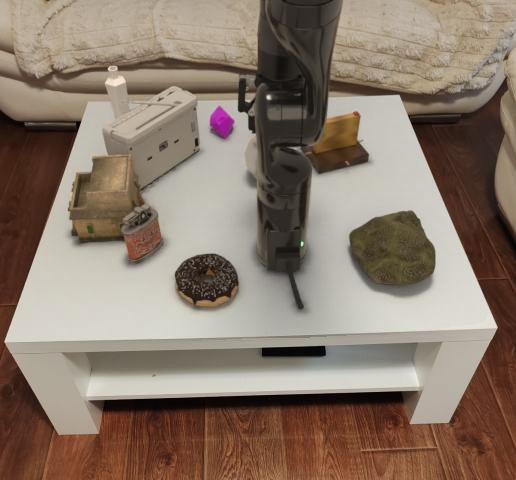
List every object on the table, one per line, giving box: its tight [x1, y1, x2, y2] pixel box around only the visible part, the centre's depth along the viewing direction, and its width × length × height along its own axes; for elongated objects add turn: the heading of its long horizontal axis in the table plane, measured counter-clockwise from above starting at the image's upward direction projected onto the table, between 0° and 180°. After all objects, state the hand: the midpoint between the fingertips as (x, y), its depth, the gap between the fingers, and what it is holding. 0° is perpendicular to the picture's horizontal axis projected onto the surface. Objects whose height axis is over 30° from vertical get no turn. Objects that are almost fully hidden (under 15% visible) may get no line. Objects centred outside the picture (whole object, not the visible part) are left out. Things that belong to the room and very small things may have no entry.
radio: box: [101, 85, 201, 190], centre depth 118 cm, size 21×8×20 cm, turn 141°
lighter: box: [121, 202, 164, 265], centre depth 105 cm, size 8×3×10 cm, turn 141°
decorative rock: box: [348, 209, 437, 286], centre depth 103 cm, size 15×16×10 cm
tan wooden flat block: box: [313, 111, 362, 154], centre depth 123 cm, size 10×2×7 cm, turn 111°
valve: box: [244, 134, 294, 180], centre depth 124 cm, size 10×20×15 cm
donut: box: [174, 252, 240, 308], centre depth 102 cm, size 11×12×4 cm
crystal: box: [209, 105, 235, 139], centre depth 132 cm, size 5×5×5 cm
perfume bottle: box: [104, 65, 131, 119], centre depth 128 cm, size 5×4×15 cm
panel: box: [300, 139, 370, 174], centre depth 127 cm, size 14×14×2 cm
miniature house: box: [67, 154, 147, 244], centre depth 110 cm, size 15×14×11 cm
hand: (277, 131), depth 103 cm, fingers open, 8 cm apart
